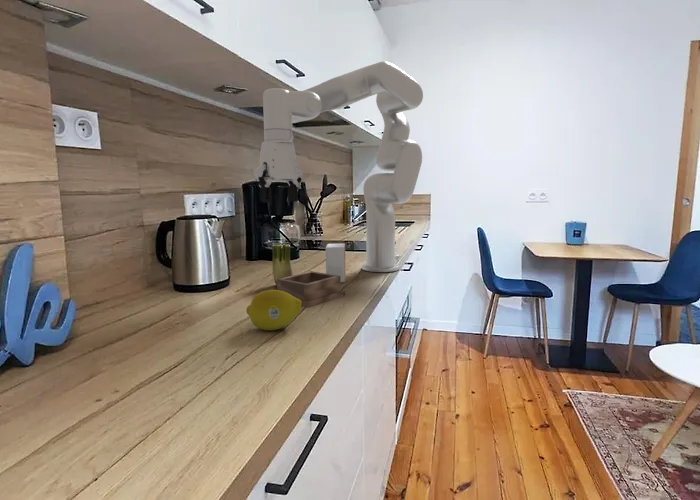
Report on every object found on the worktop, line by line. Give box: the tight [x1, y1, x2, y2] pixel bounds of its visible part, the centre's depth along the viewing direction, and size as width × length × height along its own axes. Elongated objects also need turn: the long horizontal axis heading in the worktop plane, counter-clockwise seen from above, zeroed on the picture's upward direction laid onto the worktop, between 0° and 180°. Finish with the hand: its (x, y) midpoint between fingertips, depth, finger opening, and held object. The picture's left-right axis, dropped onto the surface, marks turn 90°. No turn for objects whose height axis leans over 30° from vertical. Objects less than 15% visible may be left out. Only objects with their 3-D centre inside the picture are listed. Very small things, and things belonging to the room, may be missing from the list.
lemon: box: [246, 289, 302, 331], centre depth 85 cm, size 11×8×8 cm
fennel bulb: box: [271, 243, 293, 286], centre depth 120 cm, size 6×5×12 cm
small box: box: [325, 243, 346, 283], centre depth 128 cm, size 8×6×10 cm
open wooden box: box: [276, 270, 346, 308], centre depth 109 cm, size 14×12×5 cm
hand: (280, 201), depth 117 cm, fingers open, 9 cm apart
